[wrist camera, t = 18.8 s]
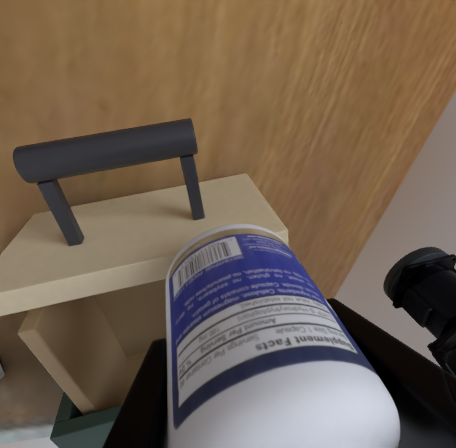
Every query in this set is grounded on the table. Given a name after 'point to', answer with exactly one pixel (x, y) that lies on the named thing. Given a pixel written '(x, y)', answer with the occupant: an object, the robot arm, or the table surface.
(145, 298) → the drawer
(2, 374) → the flask
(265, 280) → the pill bottle
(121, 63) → the table surface
